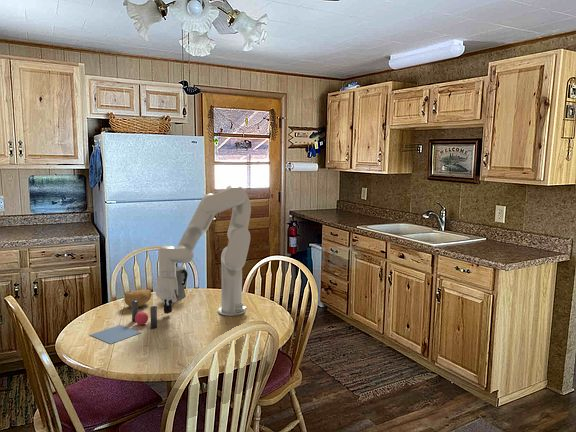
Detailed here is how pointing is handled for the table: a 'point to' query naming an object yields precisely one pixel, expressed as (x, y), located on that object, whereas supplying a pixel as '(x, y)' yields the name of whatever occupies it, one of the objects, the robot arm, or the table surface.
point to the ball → (141, 318)
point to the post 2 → (153, 316)
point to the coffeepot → (181, 280)
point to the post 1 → (134, 309)
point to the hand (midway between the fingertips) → (167, 312)
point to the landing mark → (115, 334)
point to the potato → (138, 297)
